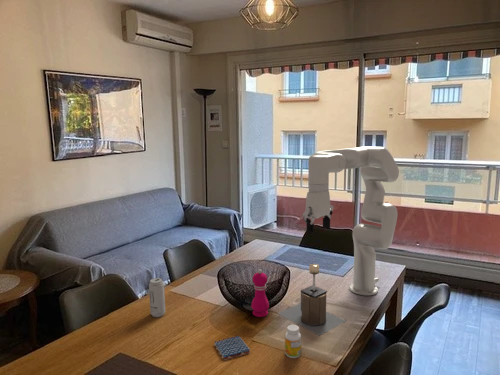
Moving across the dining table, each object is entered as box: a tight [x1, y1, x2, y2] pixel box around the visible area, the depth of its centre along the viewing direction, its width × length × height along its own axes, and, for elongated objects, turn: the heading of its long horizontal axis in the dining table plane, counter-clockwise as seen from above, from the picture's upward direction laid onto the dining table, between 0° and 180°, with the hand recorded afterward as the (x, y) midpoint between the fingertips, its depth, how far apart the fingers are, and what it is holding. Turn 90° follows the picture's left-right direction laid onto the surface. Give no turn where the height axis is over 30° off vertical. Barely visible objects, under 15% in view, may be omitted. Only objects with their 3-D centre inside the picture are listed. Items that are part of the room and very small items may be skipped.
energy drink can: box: [148, 277, 166, 318], centre depth 160 cm, size 6×6×15 cm
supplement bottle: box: [284, 324, 302, 359], centre depth 132 cm, size 5×5×10 cm
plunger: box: [308, 263, 320, 292], centre depth 151 cm, size 7×7×20 cm
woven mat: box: [213, 335, 251, 361], centre depth 136 cm, size 10×11×2 cm
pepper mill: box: [250, 268, 270, 318], centre depth 157 cm, size 7×7×20 cm
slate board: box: [277, 302, 347, 336], centre depth 155 cm, size 16×22×1 cm
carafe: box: [300, 284, 328, 326], centre depth 152 cm, size 10×11×12 cm
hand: (318, 230), depth 151 cm, fingers open, 9 cm apart
